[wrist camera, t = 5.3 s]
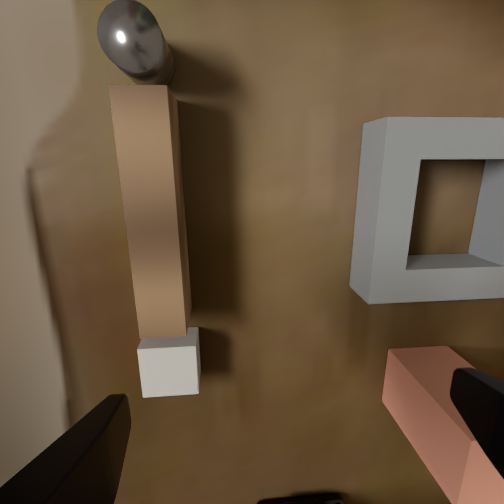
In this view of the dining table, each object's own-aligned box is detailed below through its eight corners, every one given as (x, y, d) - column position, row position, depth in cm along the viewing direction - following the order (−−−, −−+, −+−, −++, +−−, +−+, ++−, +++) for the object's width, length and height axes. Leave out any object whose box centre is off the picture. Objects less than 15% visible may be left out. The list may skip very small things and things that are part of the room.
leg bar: (130, 99, 15) (108, 84, 12) (177, 99, 15) (166, 85, 12) (152, 310, 18) (140, 338, 15) (191, 308, 18) (186, 336, 15)
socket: (489, 280, 20) (527, 296, 17) (349, 285, 19) (368, 304, 16) (523, 124, 17) (572, 118, 15) (363, 123, 16) (387, 116, 14)
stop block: (200, 370, 19) (198, 393, 17) (150, 373, 19) (143, 397, 17) (198, 327, 18) (195, 346, 17) (145, 329, 18) (137, 349, 16)
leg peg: (437, 396, 22) (534, 500, 15) (381, 400, 21) (455, 509, 15) (446, 345, 21) (555, 432, 14) (388, 349, 20) (471, 440, 14)
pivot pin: (176, 90, 15) (163, 70, 12) (128, 90, 15) (101, 68, 11) (172, 37, 14) (158, 0, 11) (123, 36, 14) (93, -3, 11)
